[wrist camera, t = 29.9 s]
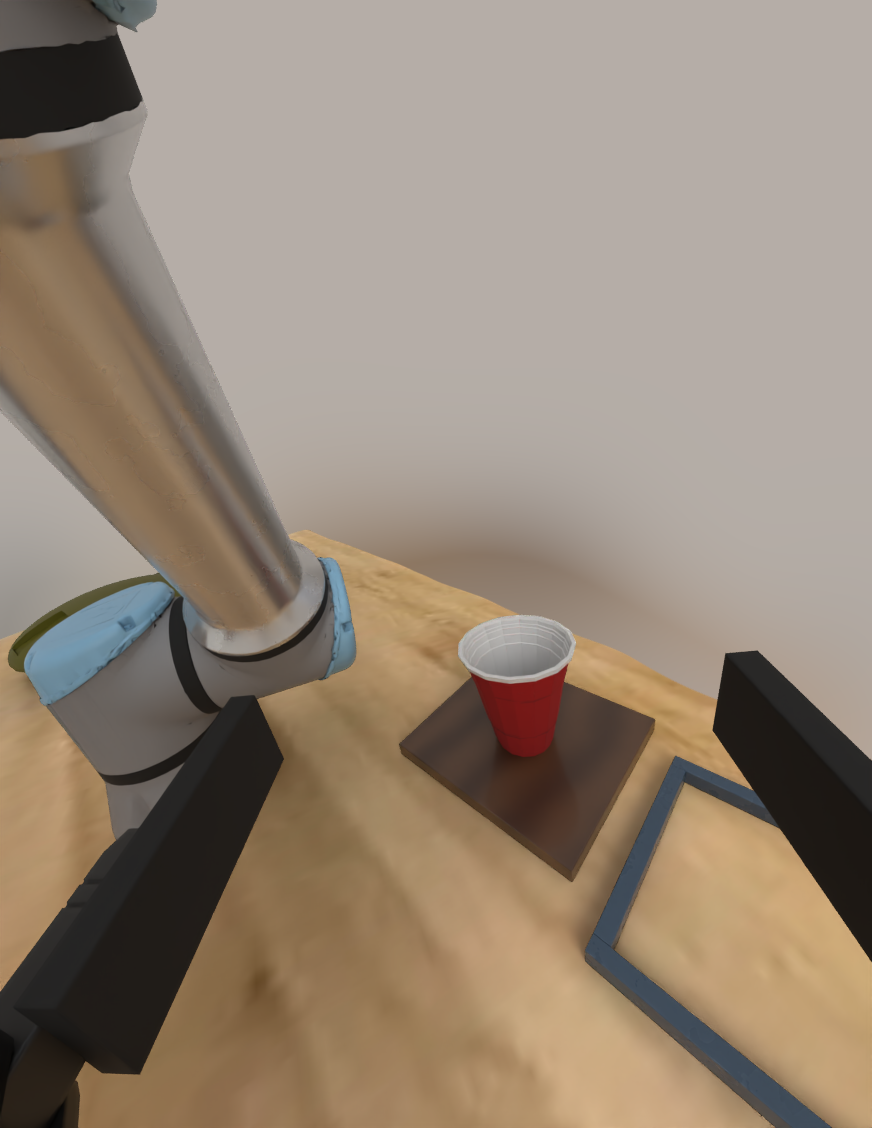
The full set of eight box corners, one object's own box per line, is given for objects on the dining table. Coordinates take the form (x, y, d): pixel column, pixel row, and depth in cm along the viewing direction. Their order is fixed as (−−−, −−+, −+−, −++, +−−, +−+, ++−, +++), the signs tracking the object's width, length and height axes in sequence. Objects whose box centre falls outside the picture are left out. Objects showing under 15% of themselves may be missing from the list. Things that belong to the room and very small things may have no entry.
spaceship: (191, 580, 103) (174, 544, 99) (257, 603, 85) (240, 561, 81) (10, 663, 79) (-22, 621, 75) (48, 721, 61) (9, 669, 56)
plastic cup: (553, 686, 48) (548, 599, 43) (598, 763, 38) (599, 662, 33) (463, 707, 48) (448, 621, 43) (486, 791, 38) (470, 692, 33)
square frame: (585, 961, 27) (584, 950, 27) (673, 766, 39) (675, 755, 38) (1066, 1382, 15) (1087, 1379, 14) (991, 914, 26) (1001, 902, 26)
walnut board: (401, 753, 45) (398, 744, 44) (497, 662, 56) (496, 653, 55) (571, 882, 32) (571, 871, 31) (654, 729, 43) (655, 718, 42)
